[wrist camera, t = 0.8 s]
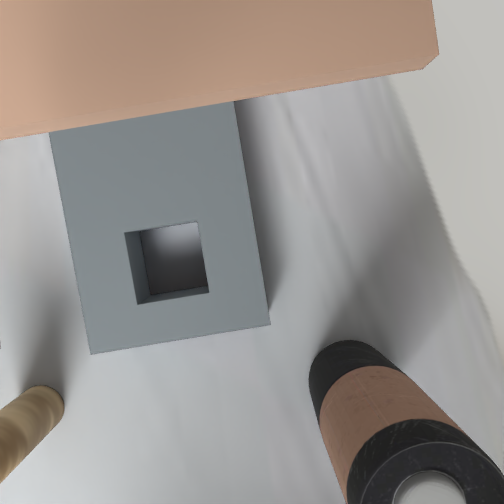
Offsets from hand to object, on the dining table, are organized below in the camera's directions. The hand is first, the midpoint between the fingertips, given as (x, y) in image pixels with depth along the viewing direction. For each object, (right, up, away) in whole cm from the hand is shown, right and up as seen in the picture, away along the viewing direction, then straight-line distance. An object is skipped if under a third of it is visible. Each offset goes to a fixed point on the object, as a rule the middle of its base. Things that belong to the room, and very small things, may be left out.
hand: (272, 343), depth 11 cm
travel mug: (+8, -9, +31) cm, 33 cm away
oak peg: (-19, -12, +31) cm, 38 cm away
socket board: (-8, +6, +30) cm, 31 cm away
